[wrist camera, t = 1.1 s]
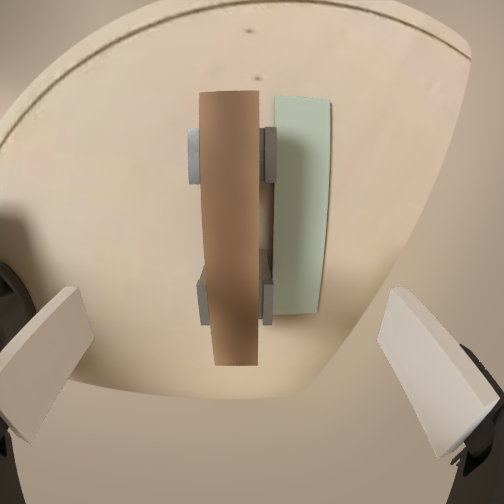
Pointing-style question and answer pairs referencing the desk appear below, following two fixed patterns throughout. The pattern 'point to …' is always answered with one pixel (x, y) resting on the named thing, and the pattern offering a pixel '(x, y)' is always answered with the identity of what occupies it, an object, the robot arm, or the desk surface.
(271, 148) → the cradle posts
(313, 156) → the mat
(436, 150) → the desk surface
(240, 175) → the rail
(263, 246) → the desk surface
